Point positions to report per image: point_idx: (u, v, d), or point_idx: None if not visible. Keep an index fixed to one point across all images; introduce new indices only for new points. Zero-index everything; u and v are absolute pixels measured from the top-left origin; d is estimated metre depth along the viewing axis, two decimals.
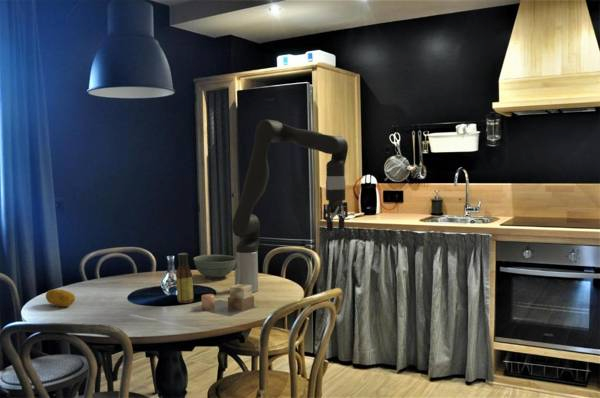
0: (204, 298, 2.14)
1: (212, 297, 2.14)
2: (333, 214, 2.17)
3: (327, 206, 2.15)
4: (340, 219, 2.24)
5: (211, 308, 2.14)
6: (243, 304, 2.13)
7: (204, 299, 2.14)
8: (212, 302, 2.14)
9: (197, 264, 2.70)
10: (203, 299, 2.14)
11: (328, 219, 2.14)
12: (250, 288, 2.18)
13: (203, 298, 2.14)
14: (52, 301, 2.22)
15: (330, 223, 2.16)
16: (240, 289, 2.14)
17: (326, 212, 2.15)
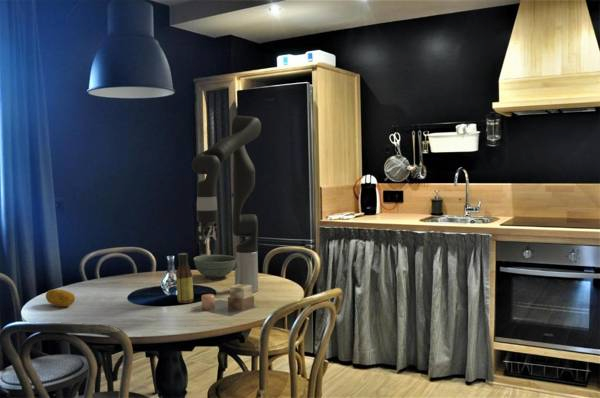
0: (204, 298, 2.14)
1: (212, 297, 2.14)
2: None
3: None
4: None
5: (211, 308, 2.14)
6: (243, 304, 2.13)
7: (204, 299, 2.14)
8: (212, 302, 2.14)
9: (197, 264, 2.70)
10: (203, 299, 2.14)
11: None
12: (250, 288, 2.18)
13: (203, 298, 2.14)
14: (52, 301, 2.22)
15: None
16: (240, 289, 2.14)
17: None
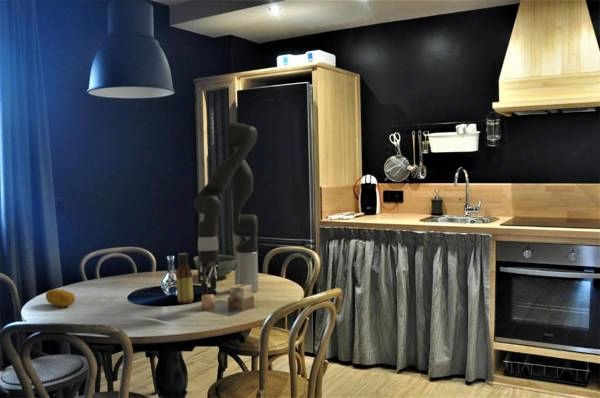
0: (204, 298, 2.14)
1: (212, 297, 2.14)
2: None
3: None
4: None
5: (211, 308, 2.14)
6: (243, 304, 2.13)
7: (204, 299, 2.14)
8: (212, 302, 2.14)
9: (197, 264, 2.70)
10: (203, 299, 2.14)
11: None
12: (250, 288, 2.18)
13: (203, 298, 2.14)
14: (52, 301, 2.22)
15: None
16: (240, 289, 2.14)
17: None
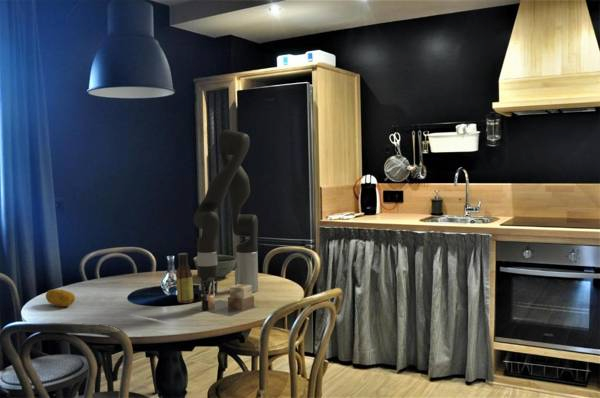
0: None
1: (212, 297, 2.14)
2: None
3: None
4: None
5: (211, 308, 2.14)
6: (243, 304, 2.13)
7: None
8: (212, 302, 2.14)
9: None
10: None
11: None
12: (250, 288, 2.18)
13: None
14: (52, 301, 2.22)
15: None
16: (240, 289, 2.14)
17: None
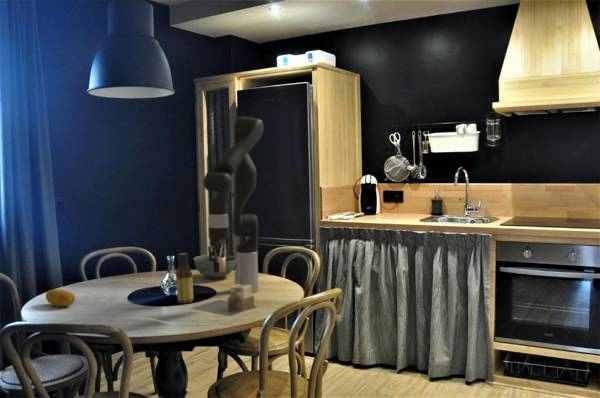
0: None
1: (223, 259, 2.14)
2: None
3: None
4: None
5: (222, 270, 2.14)
6: (243, 304, 2.13)
7: None
8: (223, 264, 2.15)
9: (197, 264, 2.70)
10: None
11: None
12: (250, 288, 2.18)
13: None
14: (52, 301, 2.22)
15: None
16: (240, 289, 2.14)
17: None
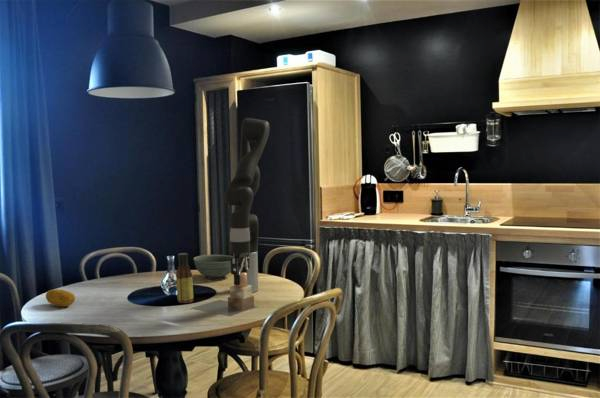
0: None
1: (245, 275, 2.16)
2: None
3: None
4: None
5: (244, 285, 2.15)
6: (243, 304, 2.13)
7: None
8: (245, 280, 2.16)
9: (197, 264, 2.70)
10: None
11: None
12: (250, 288, 2.18)
13: None
14: (52, 301, 2.22)
15: None
16: (240, 289, 2.14)
17: None
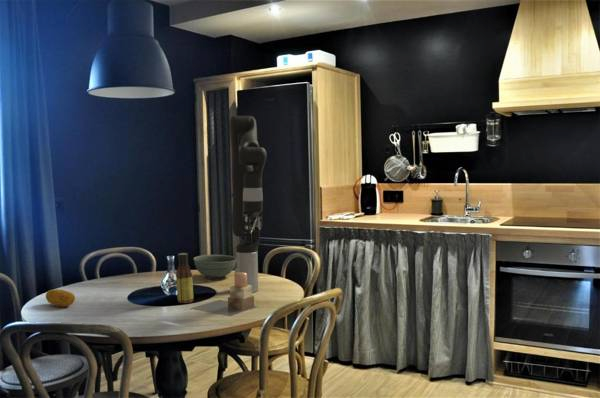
0: (237, 275, 2.15)
1: (245, 275, 2.16)
2: None
3: None
4: None
5: (244, 285, 2.15)
6: (243, 304, 2.13)
7: (238, 277, 2.15)
8: (245, 280, 2.16)
9: (197, 264, 2.70)
10: (236, 277, 2.15)
11: None
12: (250, 288, 2.18)
13: (236, 276, 2.15)
14: (52, 301, 2.22)
15: None
16: (240, 289, 2.14)
17: None
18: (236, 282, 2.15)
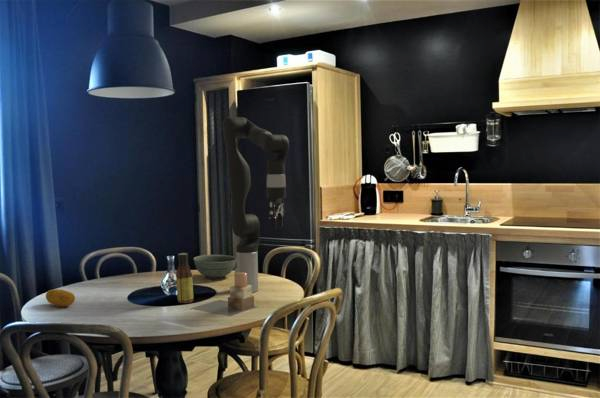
0: (237, 275, 2.15)
1: (245, 275, 2.16)
2: None
3: None
4: None
5: (244, 285, 2.15)
6: (243, 304, 2.13)
7: (238, 277, 2.15)
8: (245, 280, 2.16)
9: (197, 264, 2.70)
10: (236, 277, 2.15)
11: None
12: (250, 288, 2.18)
13: (236, 276, 2.15)
14: (52, 301, 2.22)
15: None
16: (240, 289, 2.14)
17: None
18: (236, 282, 2.15)
